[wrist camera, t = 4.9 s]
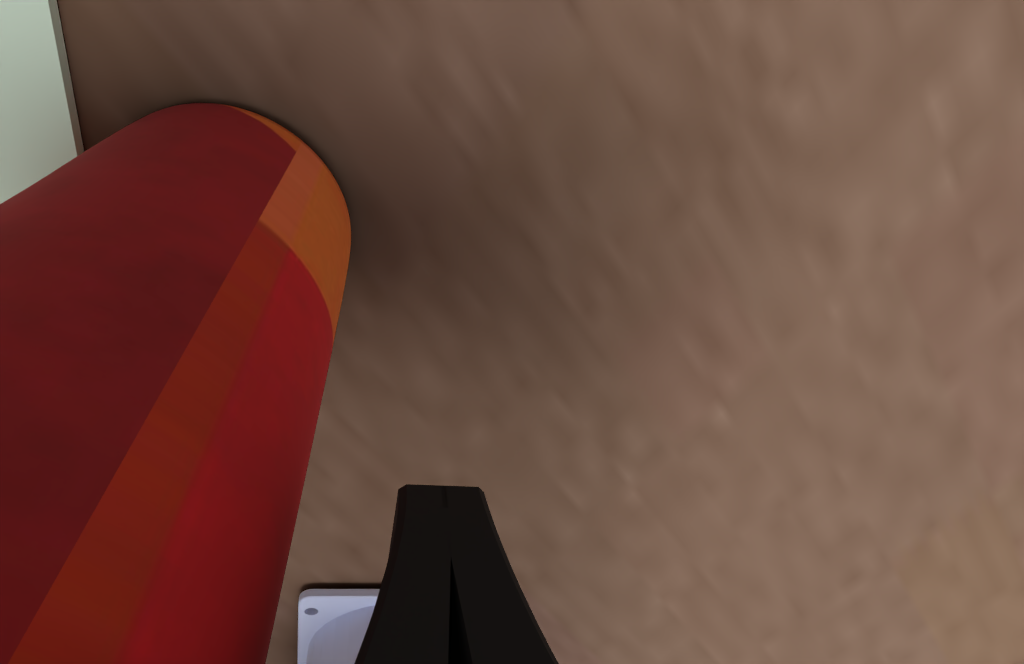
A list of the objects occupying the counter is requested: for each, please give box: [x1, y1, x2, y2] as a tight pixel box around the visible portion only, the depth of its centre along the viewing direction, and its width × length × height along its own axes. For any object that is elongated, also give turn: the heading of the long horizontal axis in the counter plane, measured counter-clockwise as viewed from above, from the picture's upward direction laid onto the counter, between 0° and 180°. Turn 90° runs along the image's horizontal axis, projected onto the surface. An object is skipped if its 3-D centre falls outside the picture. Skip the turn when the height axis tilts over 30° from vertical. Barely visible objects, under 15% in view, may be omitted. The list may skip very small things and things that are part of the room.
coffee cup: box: [0, 103, 351, 664], centre depth 11 cm, size 8×8×15 cm
